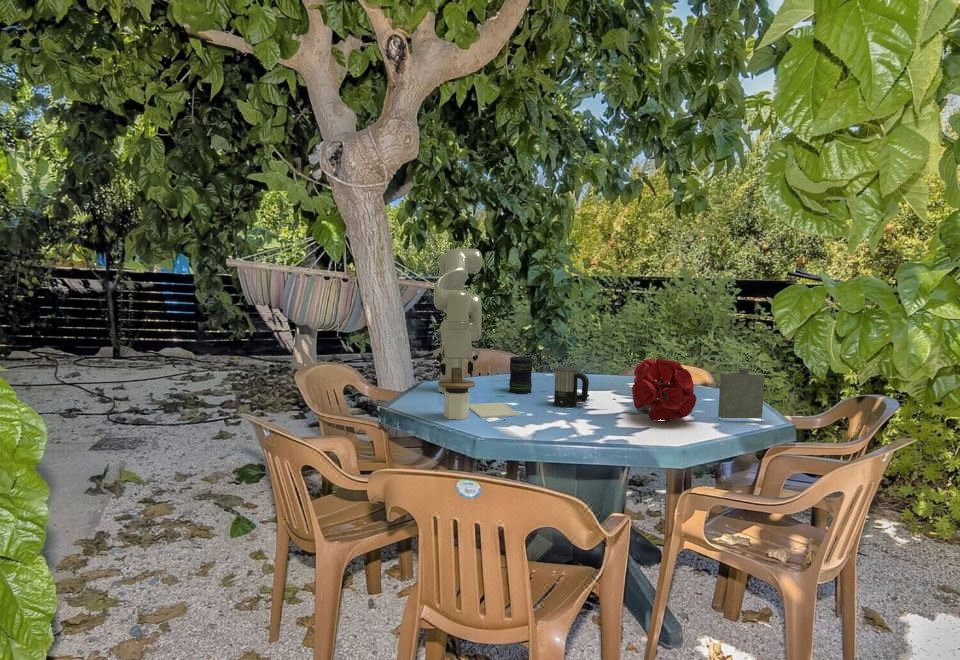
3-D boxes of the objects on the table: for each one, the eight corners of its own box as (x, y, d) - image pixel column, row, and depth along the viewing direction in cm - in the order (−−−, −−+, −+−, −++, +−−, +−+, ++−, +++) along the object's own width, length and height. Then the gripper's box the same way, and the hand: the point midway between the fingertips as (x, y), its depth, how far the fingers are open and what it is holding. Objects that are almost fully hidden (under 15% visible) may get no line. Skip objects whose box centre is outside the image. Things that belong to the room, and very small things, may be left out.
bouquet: (617, 430, 234) (647, 407, 207) (614, 372, 244) (642, 342, 216) (672, 434, 236) (708, 412, 209) (666, 376, 246) (700, 347, 219)
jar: (441, 415, 224) (441, 382, 222) (461, 413, 227) (462, 381, 226) (450, 421, 215) (451, 387, 214) (471, 419, 219) (472, 385, 218)
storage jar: (509, 389, 274) (510, 356, 272) (531, 390, 273) (532, 357, 271) (508, 393, 264) (509, 359, 262) (531, 394, 263) (532, 360, 261)
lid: (434, 382, 224) (435, 366, 223) (469, 381, 228) (469, 365, 227) (442, 389, 212) (443, 372, 211) (479, 388, 215) (479, 371, 215)
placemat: (465, 405, 240) (465, 404, 239) (502, 404, 244) (502, 402, 244) (480, 418, 221) (480, 416, 220) (520, 416, 225) (520, 414, 225)
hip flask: (759, 419, 228) (763, 366, 226) (764, 422, 224) (768, 368, 222) (716, 419, 228) (719, 365, 225) (720, 421, 223) (724, 367, 221)
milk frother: (552, 407, 241) (553, 369, 239) (554, 398, 256) (555, 363, 255) (589, 409, 239) (590, 371, 237) (588, 400, 254) (590, 365, 253)
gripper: (477, 325, 224) (476, 371, 225) (431, 325, 219) (430, 373, 220) (484, 327, 217) (482, 375, 218) (436, 327, 211) (435, 376, 213)
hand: (456, 374), depth 219 cm, fingers open, 9 cm apart
